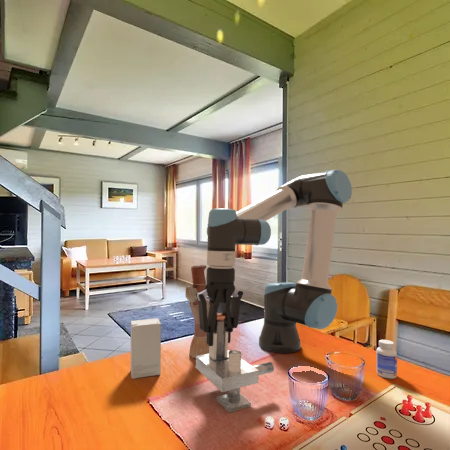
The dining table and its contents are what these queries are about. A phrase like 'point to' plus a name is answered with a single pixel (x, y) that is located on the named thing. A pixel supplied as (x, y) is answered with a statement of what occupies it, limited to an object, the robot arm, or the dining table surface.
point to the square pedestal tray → (231, 377)
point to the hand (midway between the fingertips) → (218, 356)
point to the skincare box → (145, 348)
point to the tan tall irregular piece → (197, 311)
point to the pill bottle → (386, 359)
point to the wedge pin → (220, 336)
